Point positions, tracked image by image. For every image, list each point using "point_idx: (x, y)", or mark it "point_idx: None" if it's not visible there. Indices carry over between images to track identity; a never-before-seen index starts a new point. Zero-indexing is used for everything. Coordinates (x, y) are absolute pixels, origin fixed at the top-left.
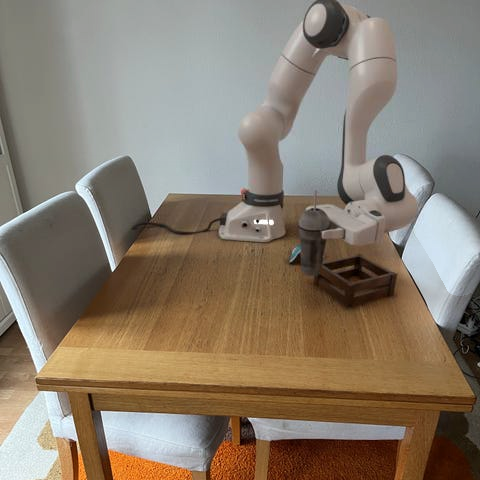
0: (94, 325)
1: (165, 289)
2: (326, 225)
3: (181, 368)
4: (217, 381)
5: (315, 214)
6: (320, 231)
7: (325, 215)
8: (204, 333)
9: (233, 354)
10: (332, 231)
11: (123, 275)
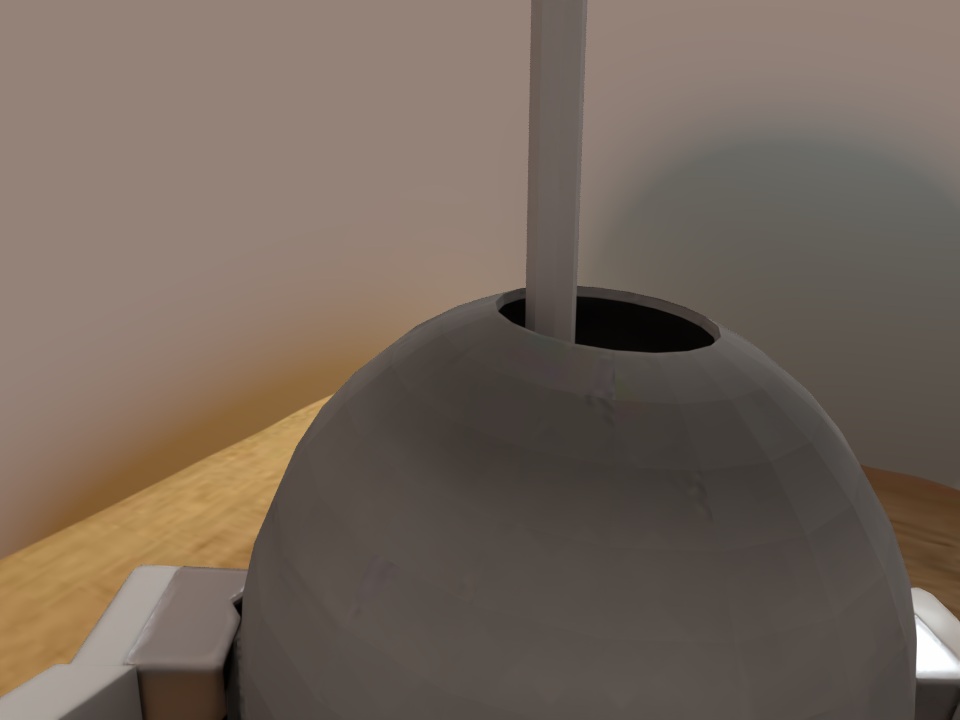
0: None
1: None
2: (249, 629)
3: (280, 455)
4: (156, 485)
5: (427, 322)
6: (247, 572)
7: (371, 472)
8: None
9: (231, 551)
10: (11, 701)
11: (900, 486)
